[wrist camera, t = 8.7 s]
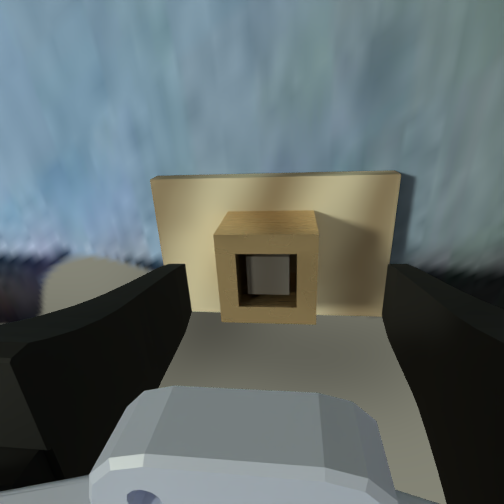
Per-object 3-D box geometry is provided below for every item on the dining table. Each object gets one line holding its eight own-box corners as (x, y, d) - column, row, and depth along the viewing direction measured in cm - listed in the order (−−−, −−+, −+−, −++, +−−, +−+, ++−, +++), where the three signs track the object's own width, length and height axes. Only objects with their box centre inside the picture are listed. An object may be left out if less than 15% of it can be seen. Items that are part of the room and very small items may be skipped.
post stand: (394, 170, 19) (423, 187, 15) (377, 306, 22) (397, 350, 18) (157, 175, 20) (123, 192, 16) (176, 301, 24) (152, 341, 20)
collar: (313, 210, 19) (319, 234, 15) (311, 286, 21) (315, 324, 17) (227, 211, 20) (213, 234, 16) (233, 285, 21) (221, 322, 18)
